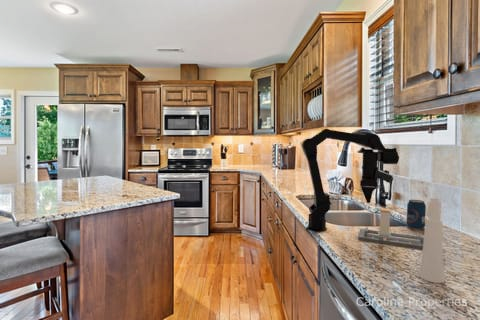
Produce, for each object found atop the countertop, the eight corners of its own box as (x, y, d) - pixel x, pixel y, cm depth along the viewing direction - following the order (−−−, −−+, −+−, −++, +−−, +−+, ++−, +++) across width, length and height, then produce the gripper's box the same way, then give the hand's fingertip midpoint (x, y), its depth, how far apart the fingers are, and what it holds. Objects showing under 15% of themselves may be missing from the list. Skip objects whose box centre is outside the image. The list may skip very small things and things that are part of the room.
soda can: (402, 226, 123) (403, 200, 123) (412, 224, 126) (413, 198, 126) (418, 230, 117) (419, 202, 116) (428, 228, 120) (429, 201, 119)
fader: (378, 236, 105) (378, 209, 104) (377, 233, 108) (378, 207, 108) (391, 238, 103) (391, 211, 102) (390, 235, 106) (391, 209, 106)
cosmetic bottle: (413, 275, 76) (416, 196, 75) (427, 271, 78) (430, 195, 77) (436, 285, 70) (440, 200, 69) (450, 280, 73) (454, 199, 72)
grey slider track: (358, 239, 104) (358, 232, 104) (360, 231, 115) (360, 224, 115) (434, 251, 94) (434, 242, 93) (428, 240, 104) (428, 232, 104)
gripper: (393, 166, 102) (391, 207, 103) (390, 163, 119) (389, 198, 119) (360, 165, 107) (359, 204, 108) (362, 162, 124) (361, 196, 124)
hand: (368, 200), depth 115 cm, fingers open, 9 cm apart
